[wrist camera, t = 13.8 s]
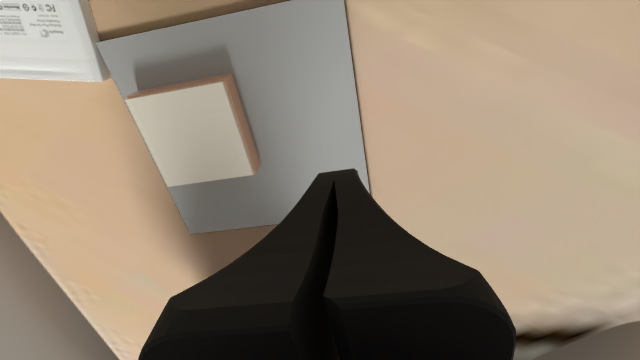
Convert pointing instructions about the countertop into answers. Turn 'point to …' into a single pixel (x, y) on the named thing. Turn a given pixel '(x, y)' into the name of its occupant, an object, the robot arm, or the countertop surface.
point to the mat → (259, 101)
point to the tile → (196, 130)
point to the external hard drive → (50, 41)
